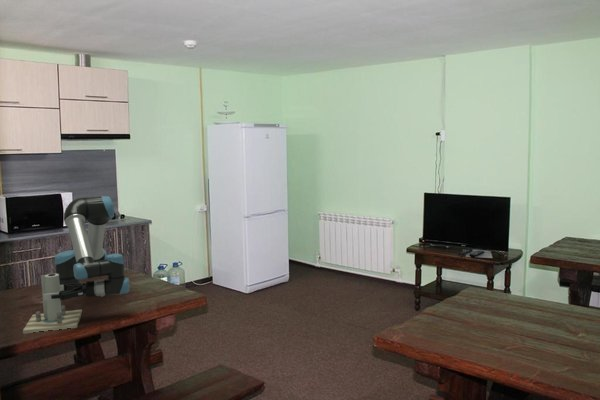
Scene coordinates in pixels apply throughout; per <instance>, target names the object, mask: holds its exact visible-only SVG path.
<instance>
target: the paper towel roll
mask: <svg viewBox="0 0 600 400" xmlns="http://www.w3.org/2000/svg"><path fill="white" fill-rule="evenodd" d="M40 279H41V280H40V281H41V282H40V283H41V295H42V306H43V307H42V308H43V310H42V311H43V314H44V319H46V318H48V320H49V321H56V320H57V313H62V311H61V305H62V300H60V299H53V300H44V298H43V294H50V293H59V292H60V282H59V274H56V273H47V274H42V275H40Z"/></svg>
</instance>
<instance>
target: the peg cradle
mask: <svg viewBox="0 0 600 400" xmlns="http://www.w3.org/2000/svg"><path fill="white" fill-rule="evenodd" d="M61 311H62V313H57V320H56V321H49V320H48V318H46V319H44V313H41V311H40V310H36V311H35V314H32V315H31V317H30V319H28V322H27V323H26V325H25V327H24V328H23V329H22V334H23V335H25V334H33V332H36V333H40V332H39V331H44V332H49V331H48V330H53V331H58V330H59V329H62V330H67V328H71V329H77V328H78V326H79V323H80V320H81V318H82V317H81V316H82V313H83V309H74V310H66V305H65V304H61Z"/></svg>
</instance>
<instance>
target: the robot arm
mask: <svg viewBox="0 0 600 400" xmlns="http://www.w3.org/2000/svg"><path fill="white" fill-rule="evenodd" d="M113 203H114V202H113V200H112V198H111V197H110V196H107V195H101V196H100V195H99V196H90V197H89V196H88V197H87V196H86V197H79V198H75V199H73V200H72V201H70V202H69V204H68V205H67V206H66V208H65V210H64V213H63V221H64V225H65V226H66V227H67V229H68V233H69V236H70V241H71V245H72V248H73V249H70V250H65V251H62V252H59V253H57V254H55V256H54V266H55V267H54V268H55V274H59V282H60V292H59V293H50V294H43V297H42V299H43V298H44V300H53V299H60V300H61V301H64V300H68V299H73V298H79V297H83V296H84V294H85V296H86V297H87V298H93V297H95V296H97V297H101V298H103V297H104V296H111V295H112V296H113V295H115V296H116V295H122V294H128V293H129V292H130V279H129V277H126V276H125V263H124V256H123V254H121V253H110V254H107V250H106V249H104V248H103V246H104V240H105V239H104V238H105V233H106V232H105V231H106V225H107V224H108V223H109V222H110V219H113V218H114V217H115V209H114V204H113ZM86 221H87V222H88V225H87V226H88V227H87V229H86V224H85V222H86ZM105 276H107V279H97V280H88V279H93V278H97V277H98V278H99V277H105ZM86 279H87V281H86V282H84V283H82V282H81V280H86Z"/></svg>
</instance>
